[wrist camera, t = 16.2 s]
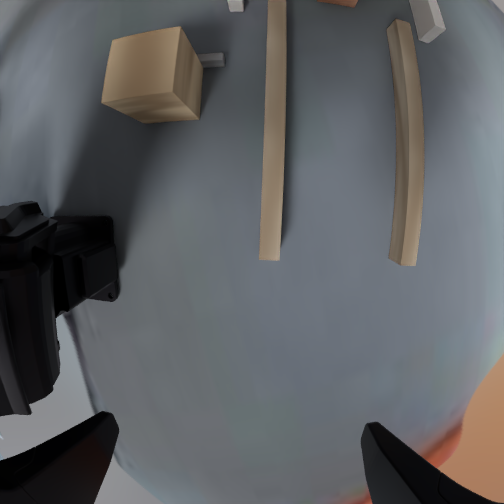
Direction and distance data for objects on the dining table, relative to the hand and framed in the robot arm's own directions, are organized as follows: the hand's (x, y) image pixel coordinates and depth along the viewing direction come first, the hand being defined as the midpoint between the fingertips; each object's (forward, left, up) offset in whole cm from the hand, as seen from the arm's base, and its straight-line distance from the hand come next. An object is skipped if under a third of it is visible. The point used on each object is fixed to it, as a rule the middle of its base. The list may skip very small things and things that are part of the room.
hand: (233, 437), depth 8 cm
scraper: (-6, +14, -12) cm, 20 cm away
